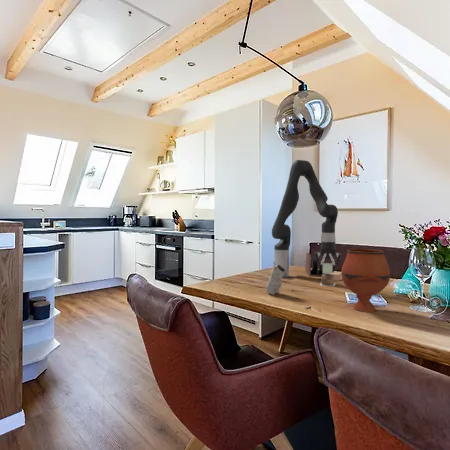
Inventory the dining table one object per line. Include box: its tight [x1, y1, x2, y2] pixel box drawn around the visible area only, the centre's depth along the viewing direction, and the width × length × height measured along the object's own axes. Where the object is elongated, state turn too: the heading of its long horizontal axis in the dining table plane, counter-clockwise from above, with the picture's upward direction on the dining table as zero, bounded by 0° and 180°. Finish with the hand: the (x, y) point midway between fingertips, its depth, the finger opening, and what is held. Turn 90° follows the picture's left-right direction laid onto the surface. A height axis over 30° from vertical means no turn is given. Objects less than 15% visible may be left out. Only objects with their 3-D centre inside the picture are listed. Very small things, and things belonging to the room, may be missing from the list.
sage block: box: [323, 262, 334, 274], centre depth 183 cm, size 5×5×5 cm
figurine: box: [265, 265, 285, 296], centre depth 166 cm, size 9×10×15 cm
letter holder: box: [304, 252, 326, 278], centre depth 222 cm, size 10×20×14 cm, turn 175°
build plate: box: [319, 281, 337, 287], centre depth 184 cm, size 20×16×1 cm
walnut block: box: [321, 274, 335, 287], centre depth 183 cm, size 6×6×5 cm
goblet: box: [340, 247, 391, 313], centre depth 139 cm, size 19×19×25 cm
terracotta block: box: [332, 272, 342, 282], centre depth 196 cm, size 5×5×5 cm
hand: (327, 271), depth 183 cm, fingers closed on sage block, 5 cm apart
